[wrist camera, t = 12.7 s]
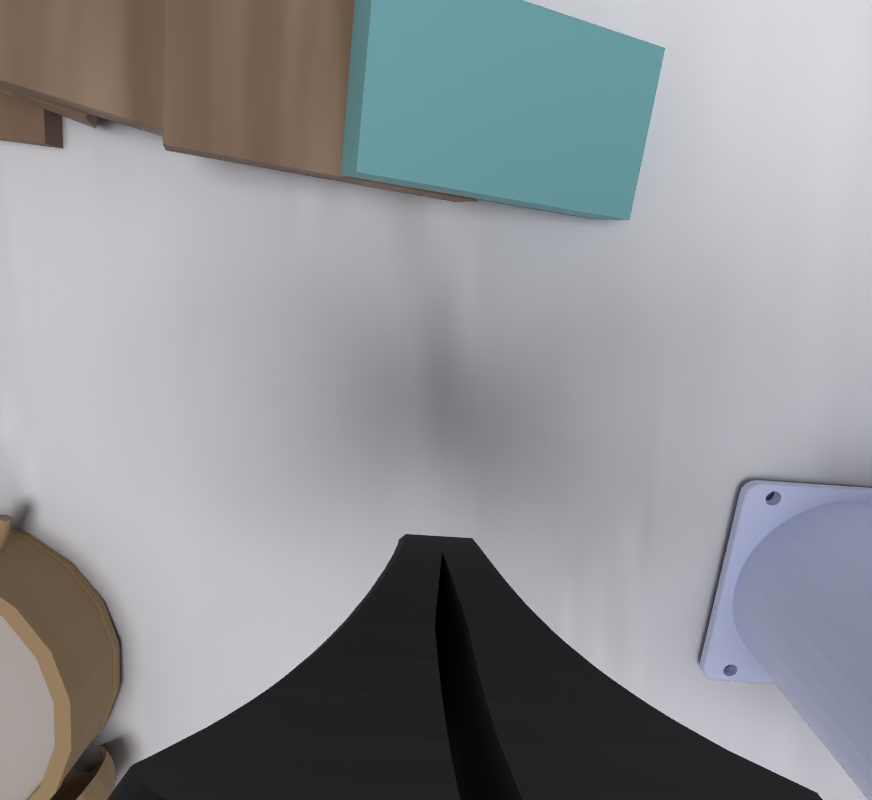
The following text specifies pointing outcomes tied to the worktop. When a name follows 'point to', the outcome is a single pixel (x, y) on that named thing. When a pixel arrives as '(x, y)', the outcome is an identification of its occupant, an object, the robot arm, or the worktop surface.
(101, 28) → the domino
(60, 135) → the domino
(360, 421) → the worktop surface
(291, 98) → the domino
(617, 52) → the teal domino
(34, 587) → the alarm clock
